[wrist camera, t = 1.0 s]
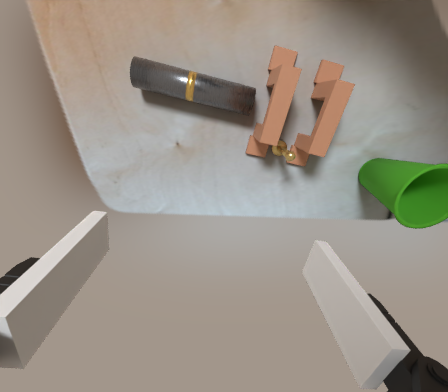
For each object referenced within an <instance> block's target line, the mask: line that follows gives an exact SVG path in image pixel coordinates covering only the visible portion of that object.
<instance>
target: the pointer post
mask: <svg viewBox="0 0 448 392" xmlns="http://www.w3.org/2000/svg"><path fill="white" fill-rule="evenodd" d="M272 152H273V153H274V154H275V155H277V156H281V155H283V156H285V158H286V160H287V161H293V160H294V159H295V158H296V154H295V153H294V152H293V151H289V150H287V145H286V143H285V142H284V141H281V140H279V141H278V144H277V146H274V145H272Z"/></svg>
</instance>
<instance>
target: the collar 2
mask: <svg viewBox="0 0 448 392" xmlns="http://www.w3.org/2000/svg"><path fill="white" fill-rule="evenodd" d="M343 68H344V66H343V65H340V64H337V63H333V62H330V61H326V60H321V63H320V66H319V69H318V71H317V74H316V77H315V80H314V83H316V85H315V88H314V91H313V93H312V96H311V98H313V99H317V100H321V101H324V103H323V105H322V108H321V111H320V113H319V116H318V119H317V121H316V124H315V126H314V129H313V132H312V134H311V136H308V135H304V134H300V133H298V136H297V138H296V141H295V144H294V145H291V148H290V151H293V152H294V153H295V154H296V158H295V159H294V160H293V161H287V160H286V162H287V163H292V164H296V165H301V166H305V165H306V162H307V160H308V157H309V155H310V154H313V155H317V156H322V157H325V154H326V152H327V150H328V147H329V145H330V142H331V140H332V138H333V135H334V133H335V131H336V128H337V126H338V123H339V121H340V119H341V116H342V114H343V112H344V109H345V107H346V105H347V102H348V100H349V97H350V95H351V93H352V90H353V88H354V86H355V84H352V83H349V82H345V81H342V80H339V78H340V76H341V73H342V71H343Z"/></svg>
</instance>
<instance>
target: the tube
mask: <svg viewBox="0 0 448 392" xmlns="http://www.w3.org/2000/svg"><path fill="white" fill-rule="evenodd" d="M130 79H131V83H132V86H133V87H135V88H139V89H143V90H147V91H151V92H155V93H159V94H164V95H168V96H172V97H176V98H180V99H184V100H188V101H192V102H196V103H200V104H204V105H208V106H212V107H216V108H220V109H224V110H228V111H232V112H237V113H241V114H245V115H249V114H250V112H251V109H252V106H253V103H254V99H255V94H256V88H253V87H249V86H245V85H242V84H238V83H234V82H230V81H226V80H223V79H219V78H215V77H211V76H208V75H204V74H200V73H197V72H193V71H189V70H185V69H181V68H177V67H174V66H170V65H166V64H162V63H158V62H155V61H151V60H147V59H143V58H139V57H136V56H135V57H133V59H132V62H131V67H130Z"/></svg>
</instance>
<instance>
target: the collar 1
mask: <svg viewBox="0 0 448 392" xmlns="http://www.w3.org/2000/svg"><path fill="white" fill-rule="evenodd" d="M297 53H298V52H296V51H292V50H289V49H286V48H282V47H279V46H274V49H273V53H272V57H271V60H270V64H269V68H268V70H271V71H270V75H269V78H268V82H267V86H268V87H272V88H273V91H272V94H271V98H270V101H269V105H268V108H267V111H266V115H265V118H264V122H263V124H259V123H256V126H255V129H254V133H253V136H251V135H250V138H249V142H248V146H247V149H246V153H247V154H251V155H256V156H260V157H265V156H266V153H267V150H268V146H269V144H270V145H274V146H277V144H278V141H279V138H280V135H281V132H282V128H283V125H284V122H285V119H286V116H287V113H288V110H289V107H290V104H291V101H292V98H293V95H294V92H295V88H296V85H297V82H298V79H299V76H300V73H301V70H302V69H300V68H296V67H293V66H294V62H295V59H296V56H297Z"/></svg>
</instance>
